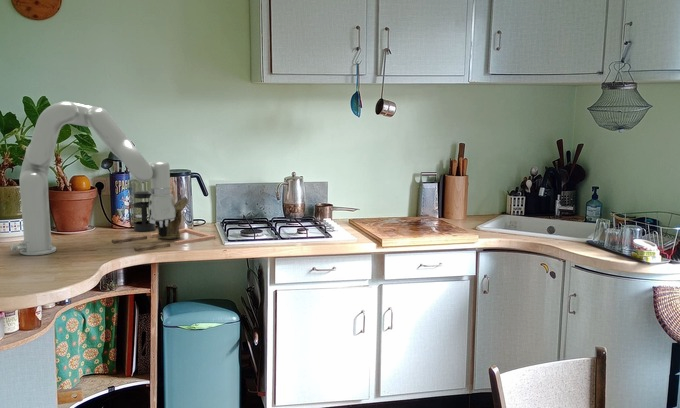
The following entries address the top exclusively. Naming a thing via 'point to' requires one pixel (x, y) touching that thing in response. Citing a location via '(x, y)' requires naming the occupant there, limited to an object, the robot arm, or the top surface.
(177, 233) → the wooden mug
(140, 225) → the french press
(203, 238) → the frame
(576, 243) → the top surface
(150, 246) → the walnut dock
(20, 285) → the top surface
